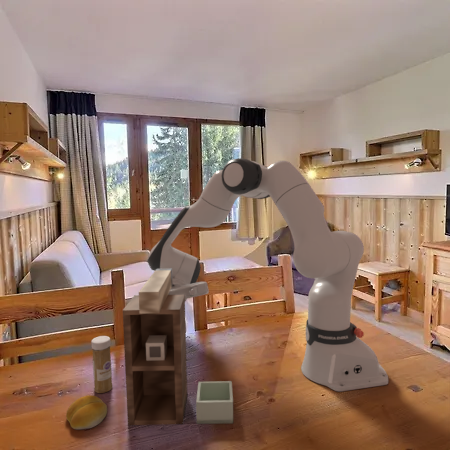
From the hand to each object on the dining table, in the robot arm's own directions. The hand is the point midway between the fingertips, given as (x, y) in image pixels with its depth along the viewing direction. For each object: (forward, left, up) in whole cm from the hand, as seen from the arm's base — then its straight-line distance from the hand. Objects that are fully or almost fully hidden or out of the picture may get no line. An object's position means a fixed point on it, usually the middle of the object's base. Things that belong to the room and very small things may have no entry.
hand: (176, 296), depth 98 cm
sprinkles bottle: (+18, +11, -21) cm, 30 cm away
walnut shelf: (+2, +20, -20) cm, 29 cm away
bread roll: (+18, +22, -21) cm, 35 cm away
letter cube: (+2, +21, -7) cm, 22 cm away
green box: (-11, +21, -20) cm, 31 cm away
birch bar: (+2, +17, +6) cm, 18 cm away
